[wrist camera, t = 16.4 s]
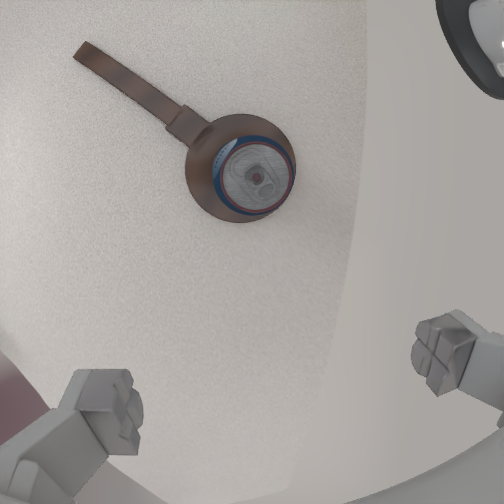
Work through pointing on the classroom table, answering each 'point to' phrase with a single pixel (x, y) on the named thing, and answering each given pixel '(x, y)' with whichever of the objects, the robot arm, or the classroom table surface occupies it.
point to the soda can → (252, 175)
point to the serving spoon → (188, 130)
